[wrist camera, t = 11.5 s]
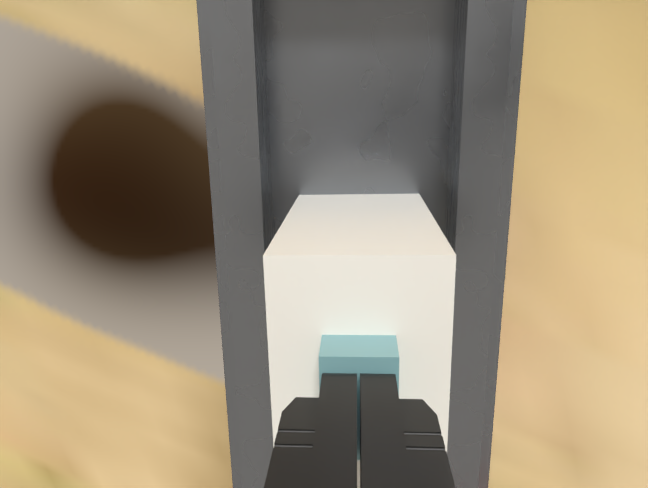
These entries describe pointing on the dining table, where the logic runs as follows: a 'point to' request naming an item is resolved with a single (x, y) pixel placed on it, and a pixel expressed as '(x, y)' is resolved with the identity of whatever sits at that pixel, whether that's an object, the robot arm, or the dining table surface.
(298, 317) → the block
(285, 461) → the robot arm
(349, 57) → the grey rectangular tray
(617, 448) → the dining table surface
